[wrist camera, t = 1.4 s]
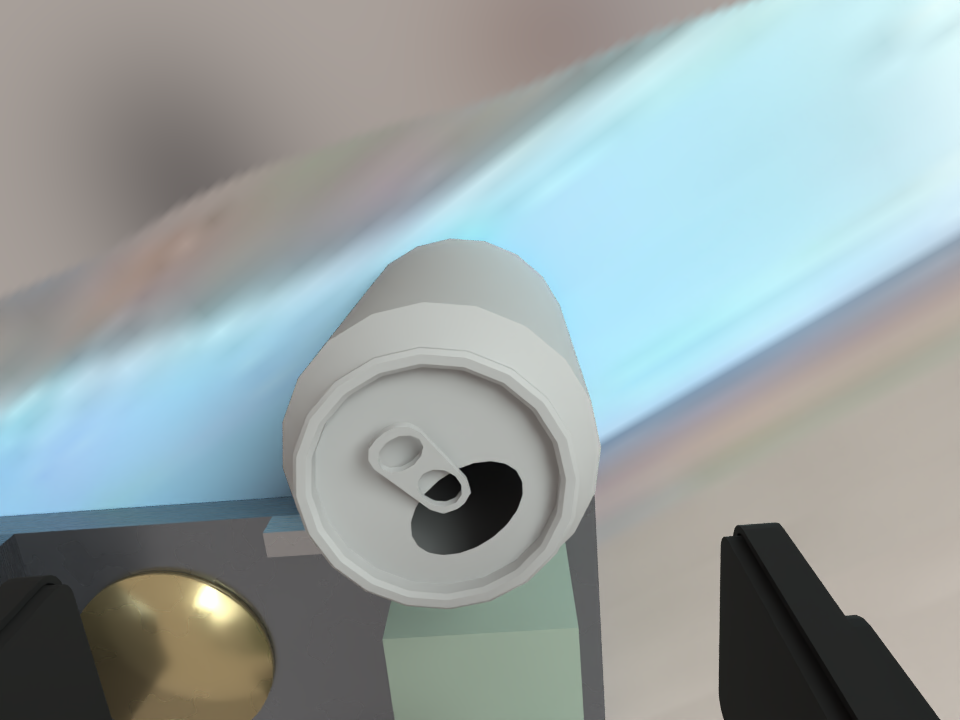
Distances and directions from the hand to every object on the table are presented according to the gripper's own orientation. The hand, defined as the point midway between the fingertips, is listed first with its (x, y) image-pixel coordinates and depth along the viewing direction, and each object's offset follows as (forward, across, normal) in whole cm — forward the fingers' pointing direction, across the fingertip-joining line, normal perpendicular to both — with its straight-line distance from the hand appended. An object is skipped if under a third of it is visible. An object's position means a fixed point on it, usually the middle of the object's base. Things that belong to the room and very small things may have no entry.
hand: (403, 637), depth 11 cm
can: (+18, 0, +1) cm, 18 cm away
